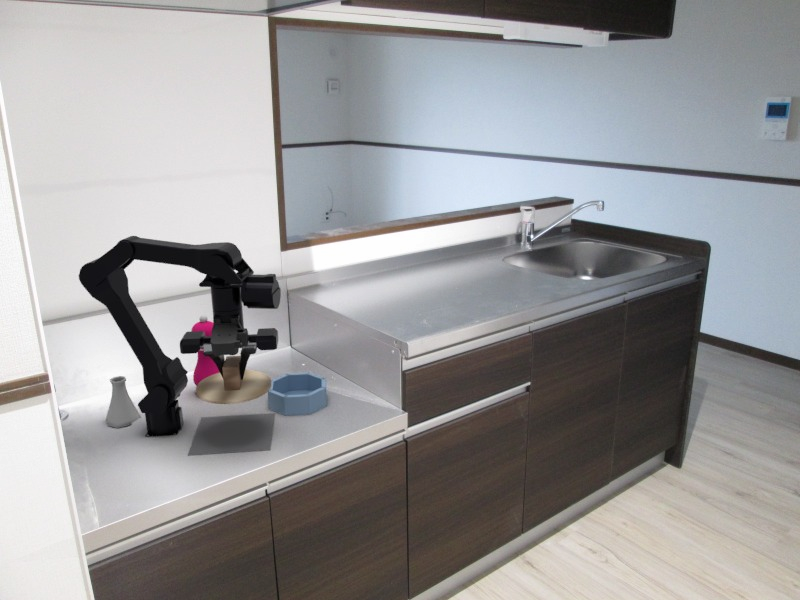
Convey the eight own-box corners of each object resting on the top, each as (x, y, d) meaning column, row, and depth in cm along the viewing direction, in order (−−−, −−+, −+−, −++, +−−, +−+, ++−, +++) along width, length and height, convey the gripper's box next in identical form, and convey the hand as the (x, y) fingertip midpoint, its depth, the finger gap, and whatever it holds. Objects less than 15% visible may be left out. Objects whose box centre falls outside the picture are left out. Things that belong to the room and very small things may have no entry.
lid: (189, 406, 123) (186, 378, 122) (203, 374, 138) (200, 349, 136) (268, 401, 125) (266, 374, 123) (273, 371, 139) (272, 346, 137)
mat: (187, 458, 125) (187, 455, 125) (201, 419, 140) (201, 417, 140) (270, 452, 127) (270, 450, 127) (275, 415, 142) (275, 413, 142)
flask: (130, 409, 145) (125, 369, 142) (147, 419, 141) (142, 377, 138) (99, 421, 140) (93, 379, 137) (116, 432, 135) (109, 389, 132)
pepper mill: (232, 392, 154) (226, 313, 148) (209, 403, 148) (201, 322, 142) (212, 385, 157) (204, 308, 151) (188, 396, 152) (179, 316, 146)
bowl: (267, 419, 141) (266, 398, 139) (271, 393, 153) (270, 374, 151) (327, 415, 142) (326, 395, 141) (326, 390, 155) (325, 371, 153)
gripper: (169, 322, 117) (178, 399, 122) (272, 318, 119) (277, 394, 124) (182, 304, 128) (189, 375, 133) (276, 300, 130) (280, 371, 135)
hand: (233, 379), depth 131 cm, fingers closed on lid, 3 cm apart
